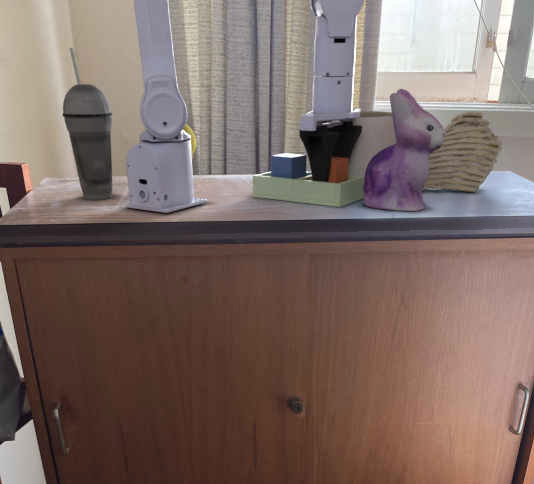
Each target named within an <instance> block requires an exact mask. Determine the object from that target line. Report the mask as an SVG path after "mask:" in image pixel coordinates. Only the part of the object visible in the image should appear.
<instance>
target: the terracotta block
mask: <svg viewBox="0 0 534 484" xmlns="http://www.w3.org/2000/svg"><path fill="white" fill-rule="evenodd" d="M348 161H349V158H342V157H332V158H331V165H330V173H329V178H328V182H331V183H341V182H344V181H347V180H348ZM312 181H313V178H312Z"/></svg>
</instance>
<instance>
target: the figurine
mask: <svg viewBox="0 0 534 484" xmlns="http://www.w3.org/2000/svg"><path fill="white" fill-rule="evenodd" d="M389 104H390V110H391V112H392V117H393V124H394V131H395V138H396V143H395V144H394V145H391V146H389V147H387V148H385V149H383V150H381V151H380V152H378V153H377V154H376V155H374V156H373V157H372V159H371V160H370V162H369V164H368V166H367V168H366V172H365V182H364V185H363V187H362V191H363V193H364V198H363V199H362V200H363V205H364V206H365V207H367V208H371V209H378V210H387V211H397V212H399V211H402V212H418V211H420V210H424V209H425V207H426V203H425V201H424V198H423V194H422V192H423V190H422V188H423V187H424V185H425V182H426V180H427V178H428V176H429V156H430V154H431V153H432V152H434V151H436V150H438V149H439V148H440V147H441V146H442V144H443V142H444V138H445V134H446V132H445V128H444V126H443V125H442V123H441V122H440V121H439V120H438V118H437V117H436V116H434V115H433V114H432V113H430V112H429V111H427V110H425V109H424V108H423V107H422V106H421V105H420V104H419V102H417V100H416V98H415V97H414V96H413V95H412V94H411V92H410V91H408V90H406V89H404V88H399V89H398V90H397V91H396V92H393V93H391V94H390V95H389Z"/></svg>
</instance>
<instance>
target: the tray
mask: <svg viewBox="0 0 534 484" xmlns="http://www.w3.org/2000/svg"><path fill="white" fill-rule="evenodd" d="M364 182H365V177H362V176H361V177H360V176H351V175H348V180H347V181H344V182H341V183H331V182H321V181H312V173H311V171H309V170H306V176H305V177H301V178H297V179H291V178H281V177H271V170H270V171H266V172H262V173H258V174H254V175H252V197H253V198H260V199H268V200H269V199H270V200H277V201H285V202H293V203H303V204H310V205H319V206H326V207H327V206H328V207H337V208H340V207H343V206H346V205H349V204H351V203H352V204H353V203H355V202H357V201H360V200H363V198H364V193H363V191H362V187H363V185H364Z"/></svg>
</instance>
